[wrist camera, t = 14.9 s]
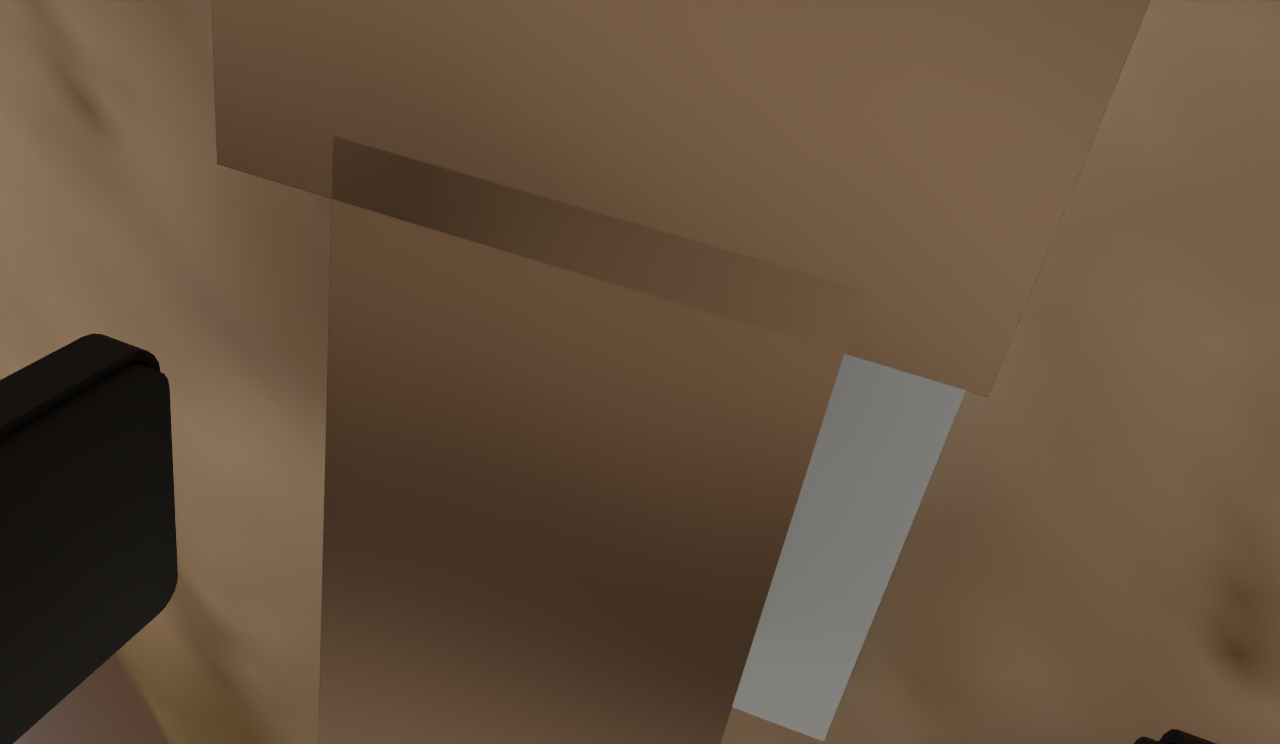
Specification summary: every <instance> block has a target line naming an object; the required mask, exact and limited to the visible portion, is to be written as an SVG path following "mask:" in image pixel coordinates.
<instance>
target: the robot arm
mask: <svg viewBox="0 0 1280 744" xmlns="http://www.w3.org/2000/svg"><path fill="white" fill-rule="evenodd" d="M177 578H178V570H177V548H176V525H175V503H174V480H173V458H172V435H171V412H170V390H169V383H168V379H167V378H166V376H165V374H163V373H161V372H160V367H159V362H158V361H157V359H156V358H155V356H154V355H153V354H151V353H150V352H148V351H146V350H143V349H140V348H138V347H135V346H132V345H129V344H127V343H124V342H121V341H119V340H116V339H113V338H110V337H108V336H105V335H102V334H90V335H87V336H84V337H81V338H79V339H78V340H76V341H74V342H72V343H70V344H68V345H66V346H64V347H62V348H60V349H59V350H57V351H55V352H53V353H51V354H49V355H47V356H45V357H43V358H41V359H40V360H38V361H36V362H34V363H32V364H30V365H28V366H26V367H24V368H23V369H21V370H19V371H17V372H15V373H13V374H11V375H9V376H7V377H5V378H4V379H2V380H0V744H13V743H14V742H15V741H16V740H17V739H18V738H20V737H21V736H22V735H23V734H24V733H25V732H26V731H27V730H29V729H30V728H31V727H32V726H33V725H34V724H35V723H37V722H38V721H39V720H40V719H41V718H42V717H43V716H44V715H45V714H47V713H48V712H49V711H50V710H51V709H52V708H53V707H55V706H56V705H57V704H58V703H59V702H60V701H61V700H62V699H63V698H65V697H66V696H67V695H68V694H69V693H70V692H71V691H73V690H74V689H75V688H76V687H77V686H78V685H79V684H80V683H82V682H83V681H84V680H85V679H86V678H87V677H88V676H89V675H91V674H92V673H93V672H94V671H95V670H96V669H97V668H98V667H100V666H101V665H102V664H103V663H104V662H105V661H106V660H107V659H109V658H110V657H111V656H112V655H113V654H114V653H115V652H116V651H118V650H119V649H120V648H121V647H122V646H123V645H124V644H125V643H127V642H128V641H129V640H130V639H131V638H132V637H133V636H134V635H136V634H137V633H138V632H139V631H140V630H141V629H142V628H144V627H145V626H146V625H147V624H148V623H149V622H150V621H151V620H153V619H154V618H155V617H156V616H157V615H158V614H159V613H160V612H161V611H162V610H163V609H164V608H165V607H166V605H167V604H168V602H169V601H170V599H171V597H172V595H173V593H174V591H175V588H176V584H177ZM1134 744H1215V743H1213V742H1210V741H1207V740H1205V739H1202V738H1199V737H1196V736H1194V735H1191V734H1188V733H1185V732H1183V731H1180V730H1175V729H1171V730H1170V731H1168V732H1167V733H1165V734H1164V735H1163V736H1162V738H1161V739H1160V740H1159V741H1155V740H1153V739H1150V738H1147V737H1140V738H1139V739H1137V740H1136V742H1135V743H1134Z"/></svg>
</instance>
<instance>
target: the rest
mask: <svg viewBox="0 0 1280 744" xmlns="http://www.w3.org/2000/svg"><path fill="white" fill-rule="evenodd" d="M965 392H966V390H963V389H960V388H956V387H953V386H950V385H946V384H943V383H940V382H936V381H933V380H930V379H926V378H923V377H920V376H917V375H913V374H910V373H907V372H903V371H900V370H897V369H893V368H890V367H887V366H883V365H880V364H877V363H874V362H870V361H867V360H864V359H860V358H857V357H854V356H850V355H847V354H844V356H843V359H842V363H841V366H840V369H839V372H838V375H837V378H836V381H835V385H834V388H833V391H832V394H831V397H830V400H829V403H828V407H827V410H826V413H825V416H824V419H823V422H822V425H821V429H820V432H819V435H818V438H817V441H816V444H815V447H814V451H813V454H812V457H811V460H810V463H809V466H808V469H807V473H806V476H805V479H804V482H803V485H802V488H801V491H800V495H799V498H798V501H797V504H796V507H795V510H794V513H793V517H792V520H791V523H790V526H789V529H788V532H787V535H786V539H785V542H784V545H783V548H782V551H781V554H780V558H779V561H778V564H777V567H776V570H775V573H774V576H773V580H772V583H771V586H770V589H769V592H768V595H767V598H766V602H765V605H764V608H763V611H762V614H761V617H760V620H759V624H758V627H757V630H756V633H755V636H754V639H753V642H752V646H751V649H750V652H749V655H748V658H747V661H746V664H745V668H744V671H743V674H742V677H741V680H740V683H739V686H738V690H737V693H736V696H735V699H734V702H733V705H732V707H733V708H735V709H738V710H741V711H743V712H746V713H749V714H751V715H754V716H757V717H759V718H762V719H765V720H767V721H770V722H773V723H775V724H778V725H781V726H783V727H786V728H789V729H791V730H794V731H797V732H800V733H802V734H805V735H808V736H810V737H813V738H816V739H818V740H821V741H824V739H825V737H826V734H827V732H828V730H829V727H830V725H831V722H832V720H833V717H834V715H835V712H836V710H837V707H838V705H839V702H840V700H841V697H842V695H843V693H844V690H845V688H846V685H847V683H848V680H849V678H850V675H851V673H852V670H853V668H854V665H855V663H856V661H857V658H858V656H859V653H860V651H861V648H862V646H863V643H864V641H865V638H866V636H867V633H868V631H869V628H870V626H871V624H872V621H873V619H874V616H875V614H876V611H877V609H878V606H879V604H880V601H881V599H882V596H883V594H884V591H885V589H886V587H887V584H888V582H889V579H890V577H891V574H892V572H893V569H894V567H895V564H896V562H897V559H898V557H899V554H900V552H901V550H902V547H903V545H904V542H905V540H906V537H907V535H908V532H909V530H910V527H911V525H912V522H913V520H914V517H915V515H916V513H917V510H918V508H919V505H920V503H921V500H922V498H923V495H924V493H925V490H926V488H927V485H928V483H929V480H930V478H931V476H932V473H933V471H934V468H935V466H936V463H937V461H938V458H939V456H940V453H941V451H942V448H943V446H944V444H945V441H946V439H947V436H948V434H949V431H950V429H951V426H952V424H953V421H954V419H955V416H956V414H957V411H958V409H959V407H960V404H961V402H962V399H963V397H964V394H965Z"/></svg>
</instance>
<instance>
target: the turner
mask: <svg viewBox="0 0 1280 744" xmlns="http://www.w3.org/2000/svg"><path fill="white" fill-rule="evenodd" d="M1149 3H1150V0H212V29H213V58H214V87H215V116H216V145H217V164H218V165H221V166H225V167H228V168H231V169H235V170H238V171H241V172H245V173H248V174H251V175H254V176H258V177H261V178H264V179H268V180H271V181H274V182H278V183H281V184H284V185H288V186H291V187H294V188H298V189H301V190H304V191H307V192H311V193H314V194H317V195H321V196H324V197H327V198H331V199H332V211H331V251H330V291H329V331H328V372H327V412H326V452H325V493H324V533H323V573H322V613H321V654H320V694H319V734H318V744H720V743H721V740H722V737H723V734H724V730H725V727H726V724H727V721H728V718H729V715H730V712H731V708H732V705H733V702H734V699H735V696H736V693H737V690H738V686H739V683H740V680H741V677H742V674H743V671H744V668H745V664H746V661H747V658H748V655H749V652H750V649H751V646H752V642H753V639H754V636H755V633H756V630H757V627H758V624H759V620H760V617H761V614H762V611H763V608H764V605H765V602H766V598H767V595H768V592H769V589H770V586H771V583H772V580H773V576H774V573H775V570H776V567H777V564H778V561H779V558H780V554H781V551H782V548H783V545H784V542H785V539H786V535H787V532H788V529H789V526H790V523H791V520H792V517H793V513H794V510H795V507H796V504H797V501H798V498H799V495H800V491H801V488H802V485H803V482H804V479H805V476H806V473H807V469H808V466H809V463H810V460H811V457H812V454H813V451H814V447H815V444H816V441H817V438H818V435H819V432H820V429H821V425H822V422H823V419H824V416H825V413H826V410H827V407H828V403H829V400H830V397H831V394H832V391H833V388H834V385H835V381H836V378H837V375H838V372H839V369H840V366H841V363H842V359H843V356H844V354H847V355H850V356H854V357H857V358H860V359H864V360H867V361H870V362H874V363H877V364H880V365H883V366H887V367H890V368H893V369H897V370H900V371H903V372H907V373H910V374H913V375H917V376H920V377H923V378H926V379H930V380H933V381H936V382H940V383H943V384H946V385H950V386H953V387H956V388H960V389H963V390H966V391H970V392H973V393H976V394H979V395H983V396H986V397H988V396H989V393H990V391H991V388H992V386H993V383H994V381H995V379H996V376H997V374H998V371H999V369H1000V366H1001V364H1002V361H1003V359H1004V357H1005V354H1006V352H1007V349H1008V347H1009V344H1010V342H1011V339H1012V337H1013V335H1014V332H1015V330H1016V327H1017V325H1018V322H1019V320H1020V317H1021V315H1022V313H1023V310H1024V308H1025V305H1026V303H1027V300H1028V298H1029V296H1030V293H1031V291H1032V288H1033V286H1034V283H1035V281H1036V278H1037V276H1038V274H1039V271H1040V269H1041V266H1042V264H1043V261H1044V259H1045V256H1046V254H1047V252H1048V249H1049V247H1050V244H1051V242H1052V239H1053V237H1054V234H1055V232H1056V230H1057V227H1058V225H1059V222H1060V220H1061V217H1062V215H1063V213H1064V210H1065V208H1066V205H1067V203H1068V200H1069V198H1070V195H1071V193H1072V191H1073V188H1074V186H1075V183H1076V181H1077V178H1078V176H1079V173H1080V171H1081V169H1082V166H1083V164H1084V161H1085V159H1086V156H1087V154H1088V152H1089V149H1090V147H1091V144H1092V142H1093V139H1094V137H1095V134H1096V132H1097V130H1098V127H1099V125H1100V122H1101V120H1102V117H1103V115H1104V112H1105V110H1106V108H1107V105H1108V103H1109V100H1110V98H1111V95H1112V93H1113V90H1114V88H1115V86H1116V83H1117V81H1118V78H1119V76H1120V73H1121V71H1122V69H1123V66H1124V64H1125V61H1126V59H1127V56H1128V54H1129V51H1130V49H1131V47H1132V44H1133V42H1134V39H1135V37H1136V34H1137V32H1138V29H1139V27H1140V25H1141V22H1142V20H1143V17H1144V15H1145V12H1146V10H1147V7H1148V5H1149Z"/></svg>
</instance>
